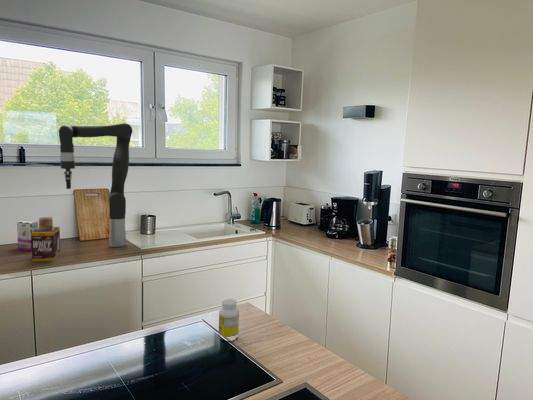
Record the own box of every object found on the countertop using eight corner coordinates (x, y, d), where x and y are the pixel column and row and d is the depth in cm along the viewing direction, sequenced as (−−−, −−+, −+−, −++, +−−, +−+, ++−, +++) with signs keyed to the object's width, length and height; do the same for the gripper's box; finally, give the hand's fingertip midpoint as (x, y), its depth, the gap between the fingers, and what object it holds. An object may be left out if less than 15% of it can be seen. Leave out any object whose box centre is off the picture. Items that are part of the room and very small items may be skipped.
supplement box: (31, 261, 206) (30, 232, 204) (40, 254, 221) (39, 226, 219) (53, 261, 209) (52, 232, 207) (60, 253, 224) (59, 226, 222)
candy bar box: (39, 249, 229) (38, 221, 227) (31, 251, 224) (30, 223, 222) (25, 247, 233) (24, 219, 231) (17, 249, 228) (16, 221, 226)
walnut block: (52, 227, 217) (52, 217, 216) (52, 230, 212) (51, 219, 211) (40, 228, 215) (39, 217, 214) (39, 230, 209) (38, 219, 209)
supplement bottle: (219, 333, 137) (220, 297, 135) (238, 333, 137) (239, 298, 135) (217, 342, 130) (218, 305, 128) (238, 343, 130) (239, 305, 129)
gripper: (74, 160, 225) (75, 189, 227) (74, 159, 238) (76, 186, 240) (59, 160, 222) (61, 189, 224) (60, 159, 235) (62, 186, 237)
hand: (68, 188), depth 232 cm, fingers open, 8 cm apart
